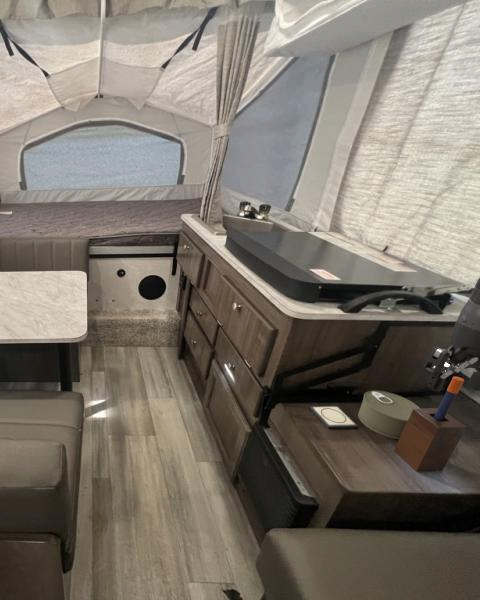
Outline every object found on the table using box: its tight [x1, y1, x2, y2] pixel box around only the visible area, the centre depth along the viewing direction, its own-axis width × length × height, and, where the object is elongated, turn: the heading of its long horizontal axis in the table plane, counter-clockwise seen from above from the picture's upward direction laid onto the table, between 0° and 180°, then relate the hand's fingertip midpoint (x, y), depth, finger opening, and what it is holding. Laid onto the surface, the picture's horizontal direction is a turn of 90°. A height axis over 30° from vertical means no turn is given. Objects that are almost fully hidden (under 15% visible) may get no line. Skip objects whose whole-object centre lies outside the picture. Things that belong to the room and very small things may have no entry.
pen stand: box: [393, 407, 467, 473], centre depth 75 cm, size 6×6×14 cm
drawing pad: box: [309, 405, 359, 429], centre depth 91 cm, size 8×8×1 cm
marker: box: [434, 376, 465, 422], centre depth 71 cm, size 2×2×15 cm
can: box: [357, 390, 421, 441], centre depth 87 cm, size 12×12×7 cm
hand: (453, 388), depth 69 cm, fingers open, 8 cm apart
